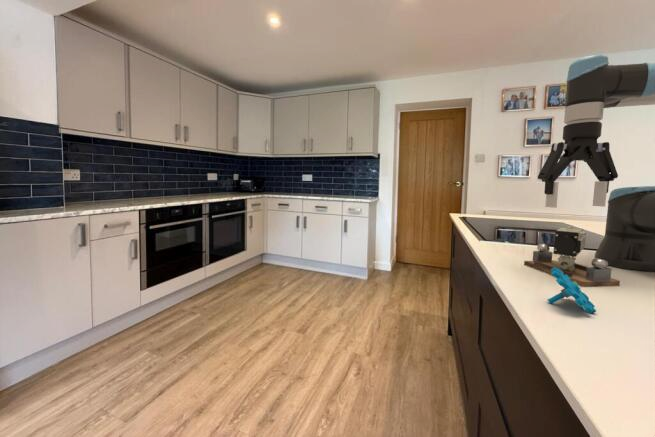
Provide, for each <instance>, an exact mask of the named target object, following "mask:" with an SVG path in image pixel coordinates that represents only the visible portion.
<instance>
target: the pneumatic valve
mask: <svg viewBox="0 0 655 437" xmlns="http://www.w3.org/2000/svg"><path fill="white" fill-rule="evenodd" d="M585 235H586V231H584V228H575V227H573V225H567V227H566V226H565V227H563V226H561V227H560V228H558V229H557V230H555V232H554V242H553V254H552V255H559V256H558V257H557V261H558V266H557V268H559V269H562V270H569V271H570V272H572V271H573V270H574V269H575V267H574V264H575V263H576V259H577V258H576V257H577V256H578V255H579V254H580V253H581V252H582V251H583V250H584V249H585V244H586V236H585ZM564 262H567V263H568V264H565V263H564Z"/></svg>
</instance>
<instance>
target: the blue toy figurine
mask: <svg viewBox="0 0 655 437" xmlns="http://www.w3.org/2000/svg"><path fill="white" fill-rule="evenodd" d="M551 271H552V275H553V276H552V275H551V276H552V277H554V278H555V281H556V283H557V284H558V285H560V287H562V289H561V290H560V292H559V293H557V294H555V295H553V296H552V297H550V298H548V299H547V302H548V303H549V304H551V305H553V304H554V303H556V302H558V301H560V300H562V299H564V298H570V297H572V298H574V299H575V300H574V302H575V303H576V304H577V305H578V307H580V308H581V307H583V310H584V311H585V312H587V313H588V314H594V313H596V312H597V310H596V308H595V305H594V303H592V302H591V301H590V298H589V296H588V295H587V293H584V292H583V291H582V290H581V288H580V287H581V286H579V285H578V284H577V283H576V282H575V281H574V282H571V281H570V280H571V278H570V277H569V276H568V275H564V273H563V272H562V271H561V270H560V269H559V268H558V269H557V268H555V267H554V268H552V269H551Z"/></svg>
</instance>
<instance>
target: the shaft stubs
mask: <svg viewBox="0 0 655 437" xmlns="http://www.w3.org/2000/svg"><path fill="white" fill-rule="evenodd" d="M550 248H551V247H550V246H549V245H548V244H545V243H539V244H537V247H536V249H537V250H533V251H532V261H538V262H552V260H553V255H554V254H553V252H554V251H553V252H552V251H550ZM608 266H609V265H608V262H607V261H606V260H602V259H598V258H595V257H594V258H593V259H592V260H591V266H586V267H587V270H586V279H587V280H590V281H592V282H603V281H610V279H611V278H612V270H613V269H612V268H610V267H608Z"/></svg>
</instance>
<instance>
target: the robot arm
mask: <svg viewBox="0 0 655 437" xmlns="http://www.w3.org/2000/svg"><path fill="white" fill-rule="evenodd" d="M609 63H610V62H609V57H608V55H605V54H593V55H586V56H584V57H581V58H578V59H576V60H574V61H572V63H570V65H569V67H568V71H567V75H566V76H567V78H566V90H565V91H566V92H565V93H566V94H565V104H564V105H565V106H564V118H563V119H564V120H563V123H564V124H565V125H564V126H563V128H562V130H563V131H562V140H563V141H560V142H554V143H552V144H551V149H550V152H549V153H548V156H547V158H546V159H545V162H544V164H543V166H542V168H541V169H540V171H539V173H538V175H537V179H538V180H541V182H543V183H544V195H546V196H545V208H553V209H555V208H557V206H558V194H559V193H558V192H559V181H557V179H558V178H559V177H560V176H561V175H562V174H563V173H564V171H565V170H566V169H567V168H568V166H569V165H570V164H571V163H572V162H575V161H579V162H580V161H583V162H584V163H586V164H587V165H588V168H589V169H590V170H591V172H592V173H593V174H594V176H595V177H596V179H597V181H594V186H593V187H594V188H593V195H592V196H593V199H592V206H593V207H605V208H606V201H607V212H606V222H605V231H604V232H605V233H604V237H603V239H602V241H601V242H600V244H599V246H598V248H597V250H596V251H595V253H594V258H598V259H602V260H606V261H607V262H608V266H611V267H614V268H615V267H616V268H620V269H627V270H632V271H633V270H634V271H644V272H645V271H646V272H648V271H649V272H655V185H650V186H649V185H648V186H647V185H645V186H644V185H643V186H642V185H641V186H629V187H628V186H626V187H618V188H615V189H613V190H612V191H610V194H609V196H608V200H607V194H608V193H609V186H610V182H614V181H615V179H618V177H619V174H618V171H617V169H616V166H615V163H614V160H613V157H612V155H611V152H610V142H608V141H605V142H598V139H599V138H600V137H601V136H602V128H603V123H602V122H601V121H602V120H603V119H604V109H609V108H620V107H622V108H623V107H624V108H625V107H637V106H650V105H655V62H644V63H633V64H632V63H630V64H628V63H627V64H617V65H616V64H609Z"/></svg>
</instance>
